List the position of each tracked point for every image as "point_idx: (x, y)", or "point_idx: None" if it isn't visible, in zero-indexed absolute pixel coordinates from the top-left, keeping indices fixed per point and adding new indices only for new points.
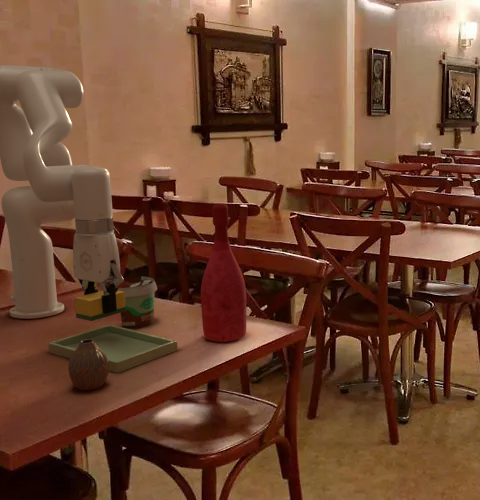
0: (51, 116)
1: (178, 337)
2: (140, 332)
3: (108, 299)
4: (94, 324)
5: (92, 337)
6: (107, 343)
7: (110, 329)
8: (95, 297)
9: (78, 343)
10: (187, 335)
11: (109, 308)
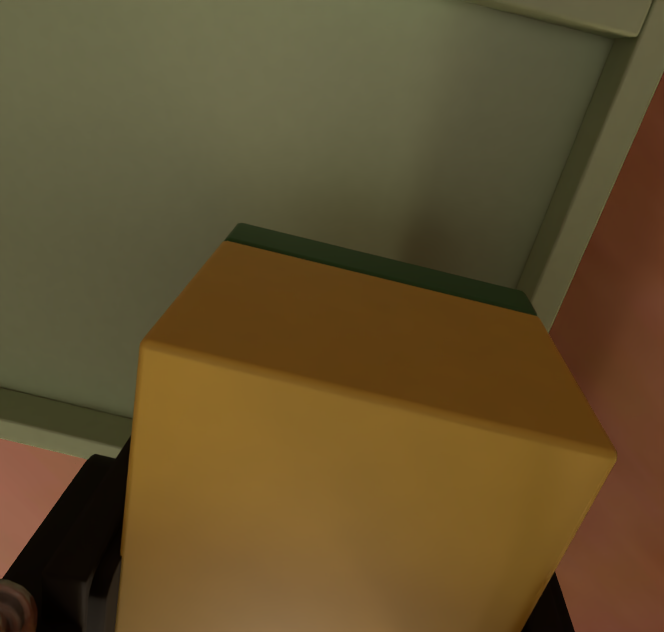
0: None
1: (23, 528)
2: None
3: (34, 548)
4: (655, 604)
5: None
6: None
7: None
8: (228, 545)
9: (500, 239)
10: (8, 562)
11: (98, 456)
